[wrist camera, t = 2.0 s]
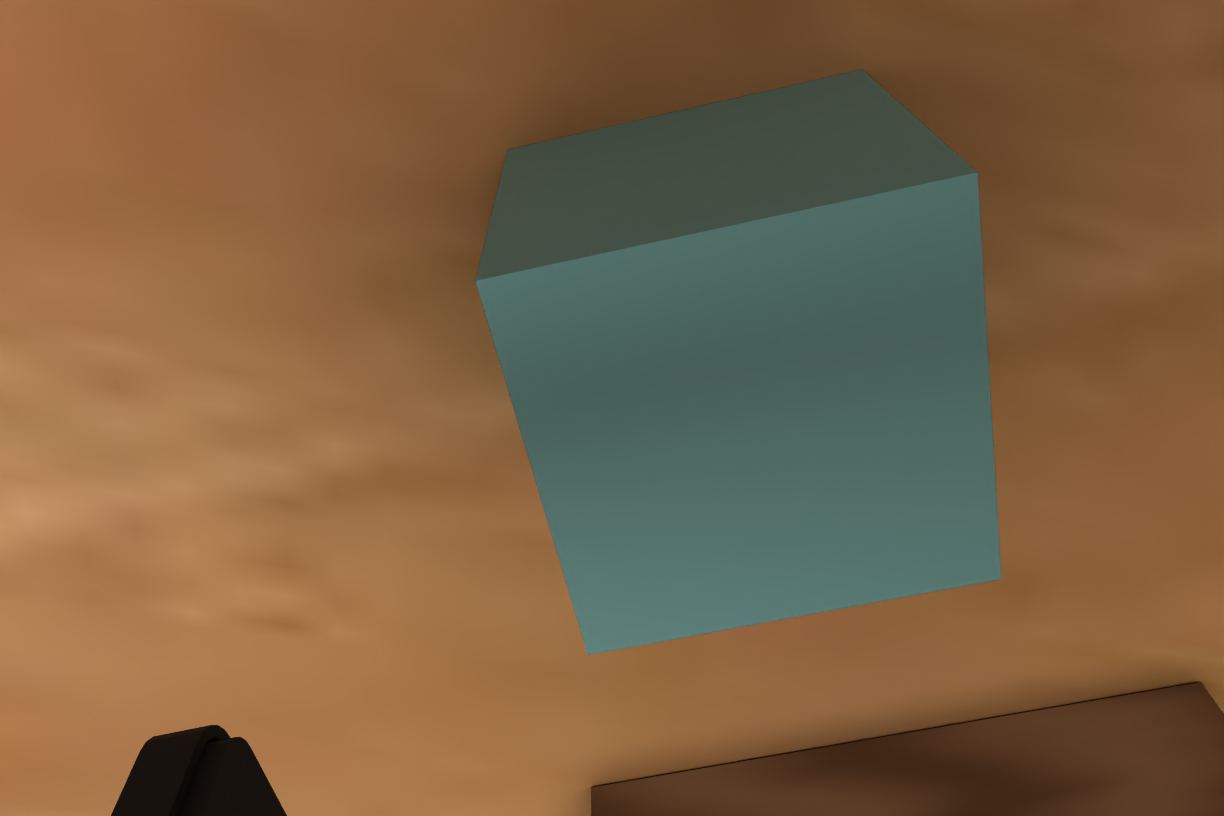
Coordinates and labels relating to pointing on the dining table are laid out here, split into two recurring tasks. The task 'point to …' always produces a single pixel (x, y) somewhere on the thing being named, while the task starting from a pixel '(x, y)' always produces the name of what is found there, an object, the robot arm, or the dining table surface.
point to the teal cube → (748, 359)
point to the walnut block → (975, 769)
